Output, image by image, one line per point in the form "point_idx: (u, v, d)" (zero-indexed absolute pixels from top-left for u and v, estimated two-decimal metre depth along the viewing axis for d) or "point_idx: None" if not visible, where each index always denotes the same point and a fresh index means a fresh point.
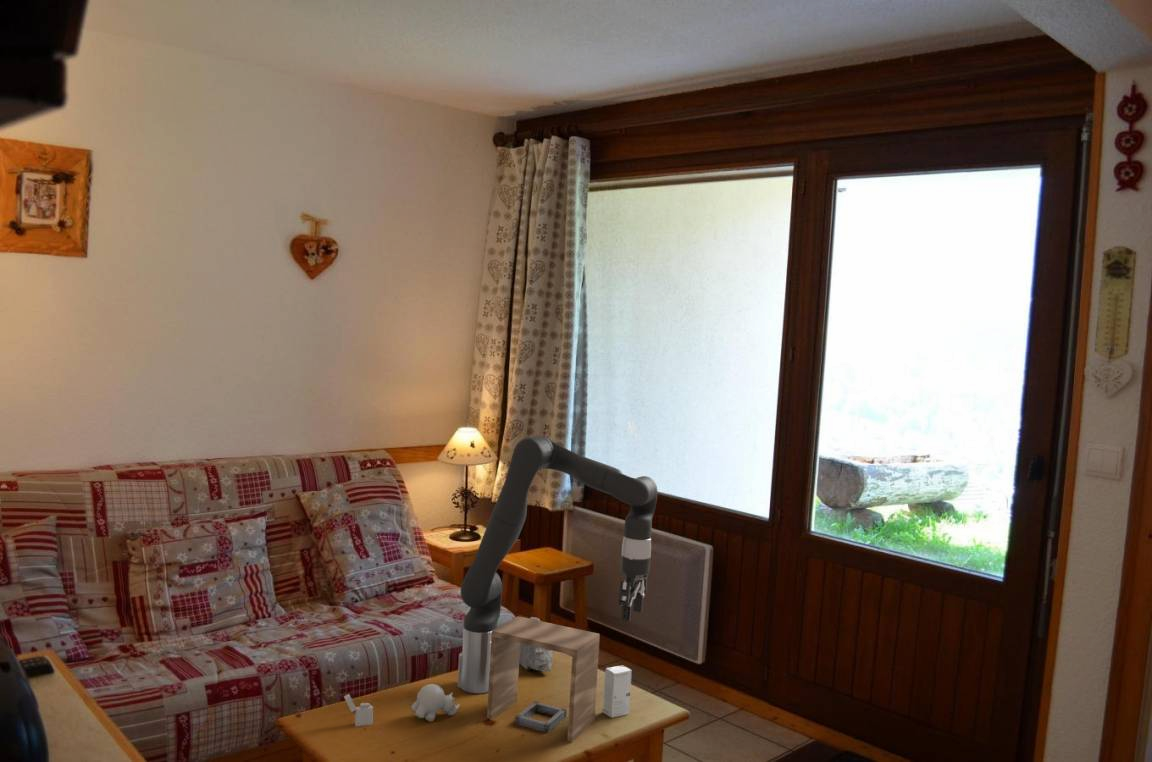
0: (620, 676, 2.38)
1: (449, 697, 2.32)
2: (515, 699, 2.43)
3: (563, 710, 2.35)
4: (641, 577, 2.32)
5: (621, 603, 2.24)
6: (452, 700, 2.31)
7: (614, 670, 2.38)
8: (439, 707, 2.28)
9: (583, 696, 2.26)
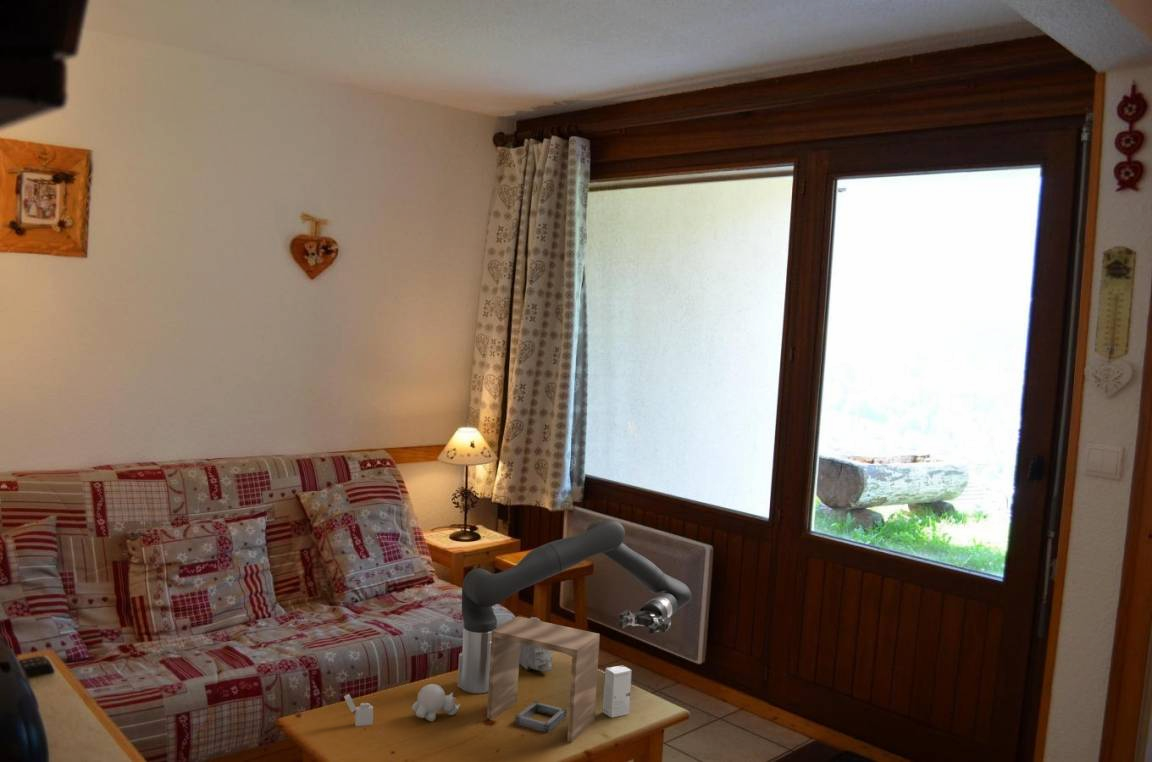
0: (620, 676, 2.37)
1: (449, 697, 2.32)
2: (515, 699, 2.43)
3: (563, 710, 2.35)
4: None
5: (665, 626, 2.50)
6: (452, 700, 2.31)
7: (614, 670, 2.38)
8: (440, 707, 2.28)
9: (583, 696, 2.26)
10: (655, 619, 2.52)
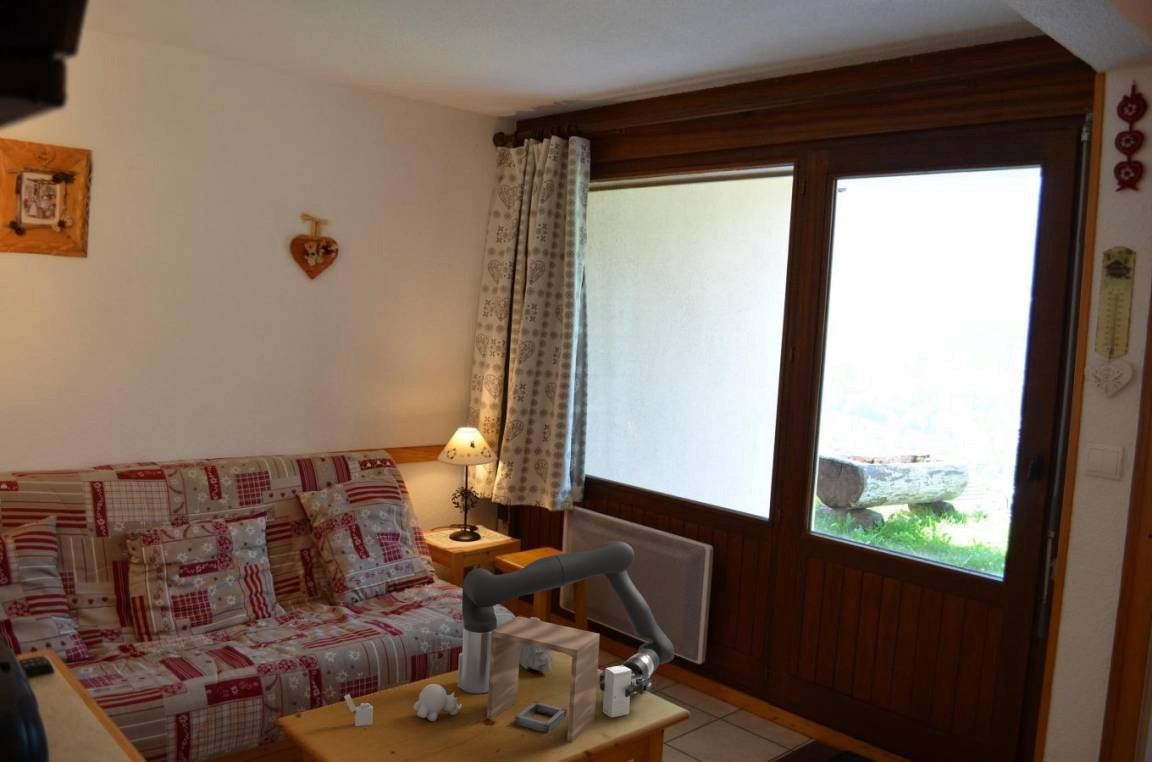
0: (620, 676, 2.37)
1: (451, 697, 2.32)
2: (515, 699, 2.43)
3: (563, 710, 2.35)
4: None
5: (642, 687, 2.39)
6: (454, 700, 2.31)
7: (614, 670, 2.38)
8: (441, 707, 2.28)
9: (583, 696, 2.26)
10: (633, 679, 2.42)
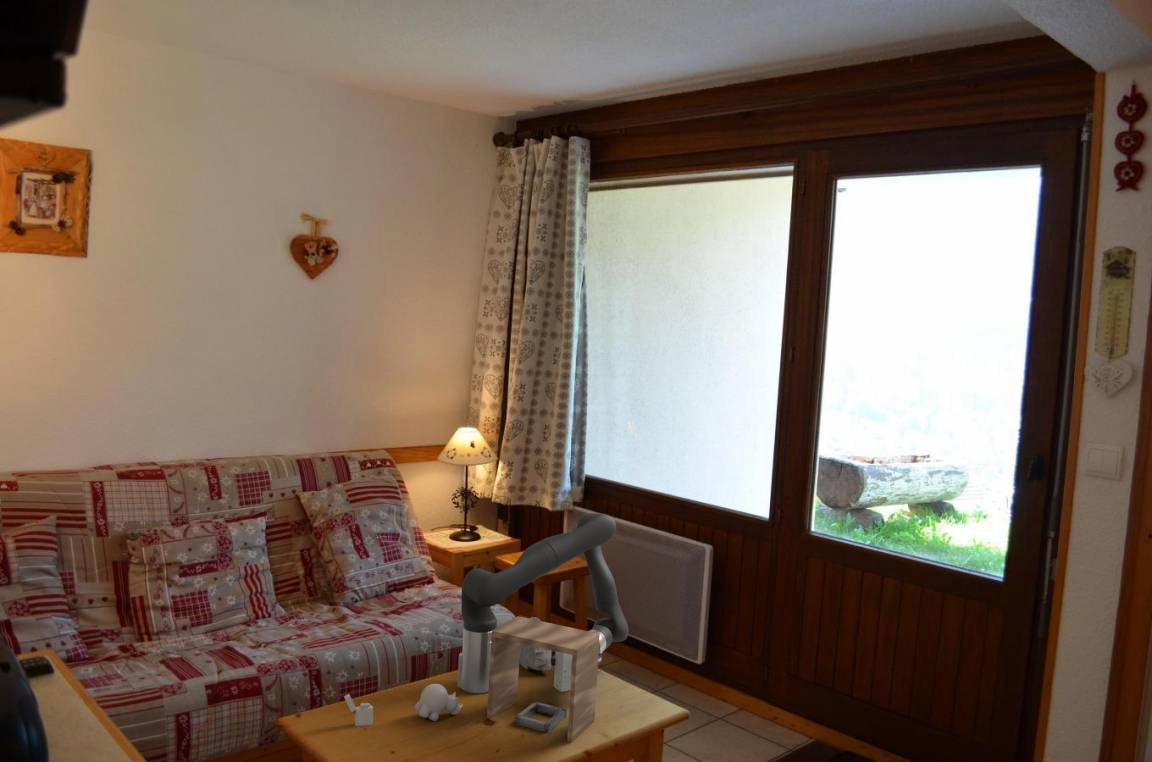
0: None
1: (452, 697, 2.32)
2: (515, 699, 2.43)
3: (563, 710, 2.35)
4: None
5: None
6: (455, 700, 2.32)
7: None
8: (443, 707, 2.29)
9: (583, 696, 2.26)
10: None
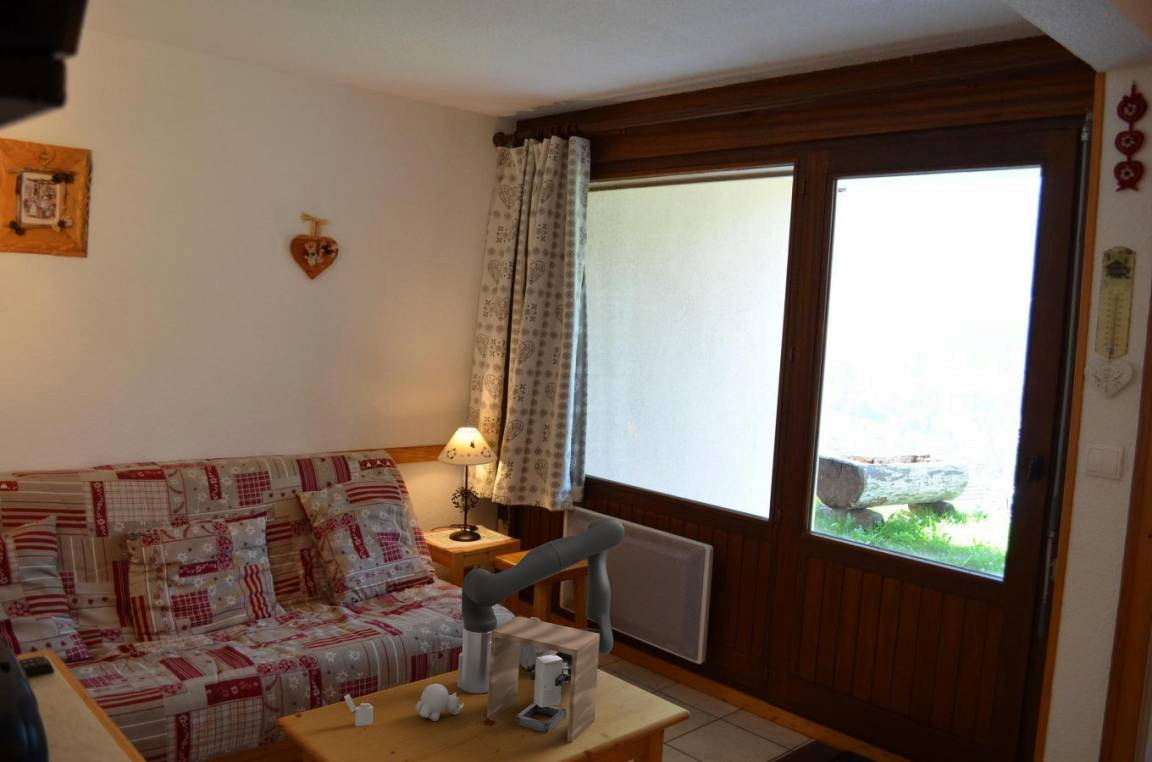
0: (550, 665, 2.33)
1: (453, 696, 2.32)
2: (515, 699, 2.43)
3: (563, 710, 2.35)
4: None
5: None
6: (456, 699, 2.32)
7: (545, 659, 2.34)
8: (443, 707, 2.29)
9: (583, 696, 2.26)
10: (565, 669, 2.37)
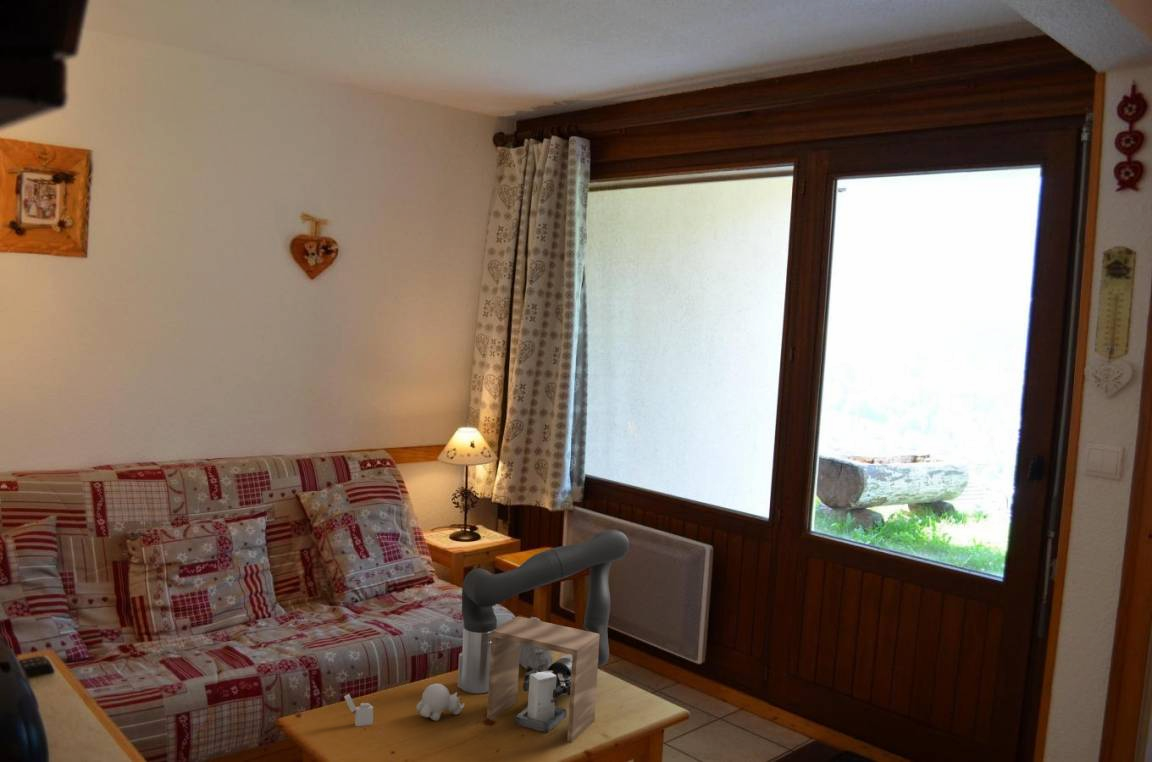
0: (544, 682, 2.31)
1: (454, 696, 2.32)
2: (515, 699, 2.43)
3: (563, 710, 2.35)
4: None
5: None
6: (457, 699, 2.32)
7: (539, 676, 2.31)
8: (444, 706, 2.29)
9: (583, 696, 2.26)
10: (562, 680, 2.34)
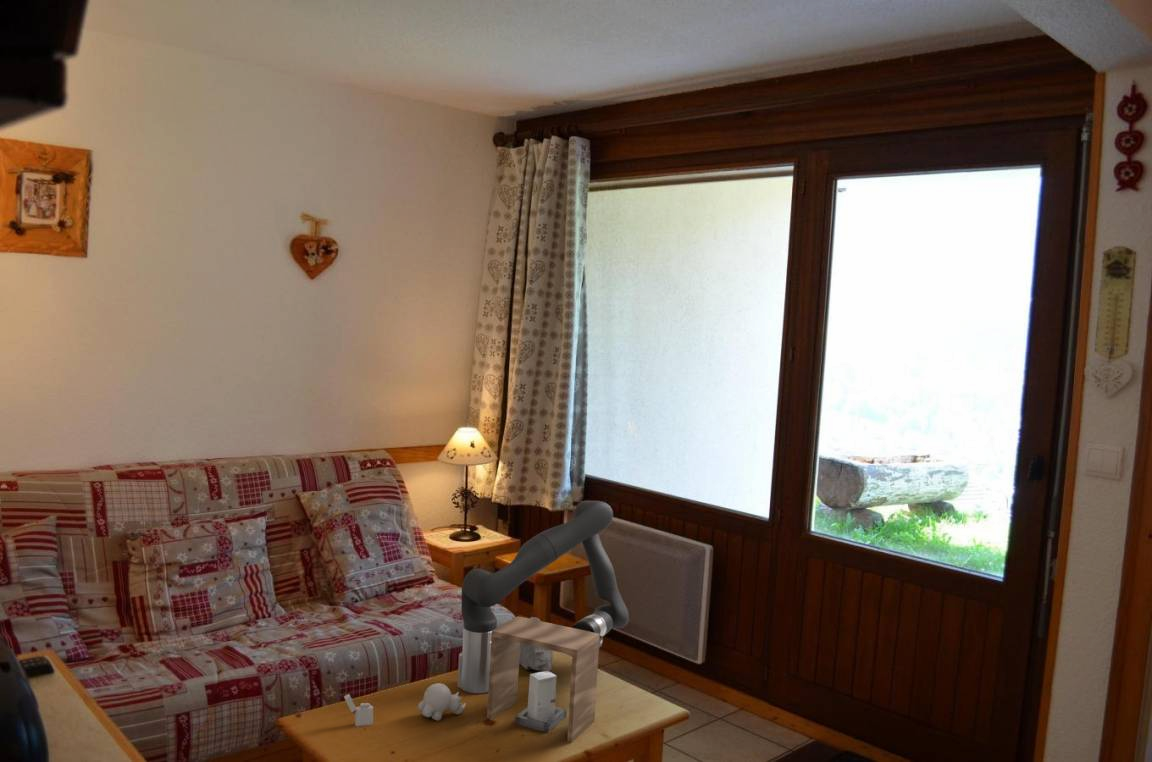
0: (544, 682, 2.31)
1: (455, 696, 2.32)
2: (515, 699, 2.43)
3: (563, 710, 2.35)
4: None
5: None
6: (458, 699, 2.32)
7: (539, 676, 2.31)
8: (446, 706, 2.29)
9: (583, 696, 2.26)
10: None
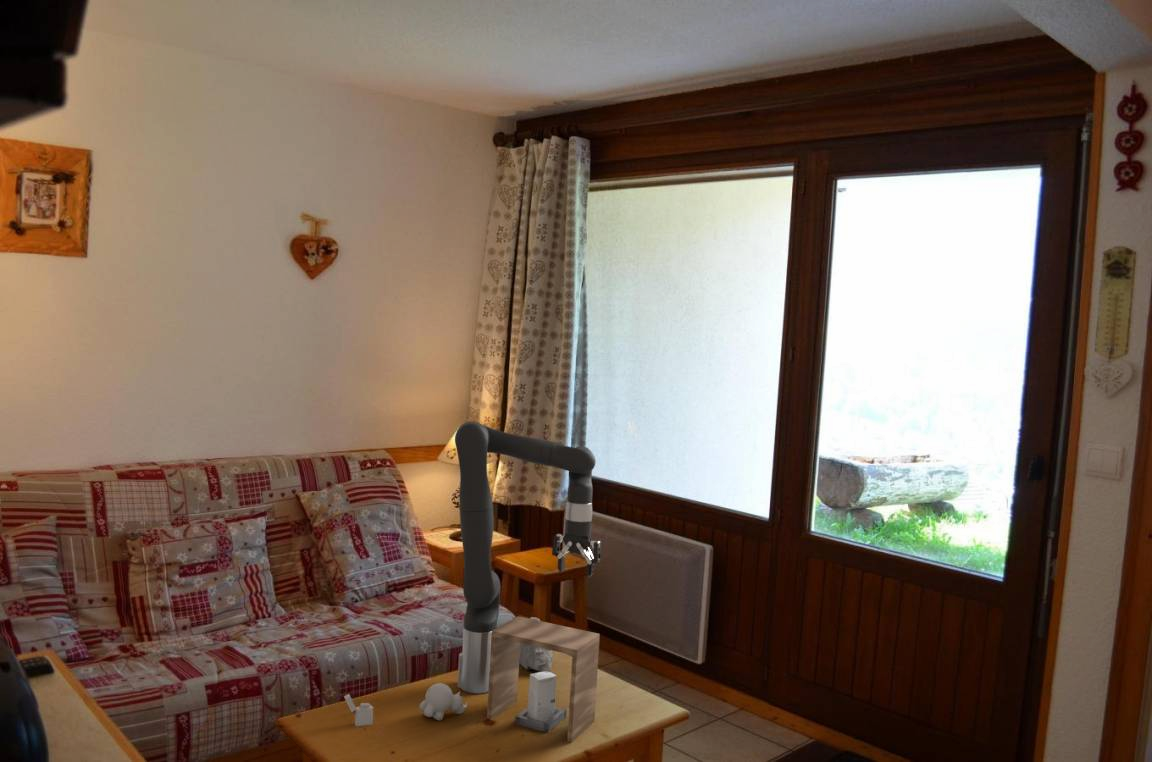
0: (544, 682, 2.31)
1: (457, 696, 2.33)
2: (515, 699, 2.43)
3: (563, 710, 2.35)
4: None
5: (598, 561, 2.49)
6: (460, 699, 2.32)
7: (539, 676, 2.31)
8: (447, 706, 2.29)
9: (583, 696, 2.26)
10: (585, 556, 2.50)
